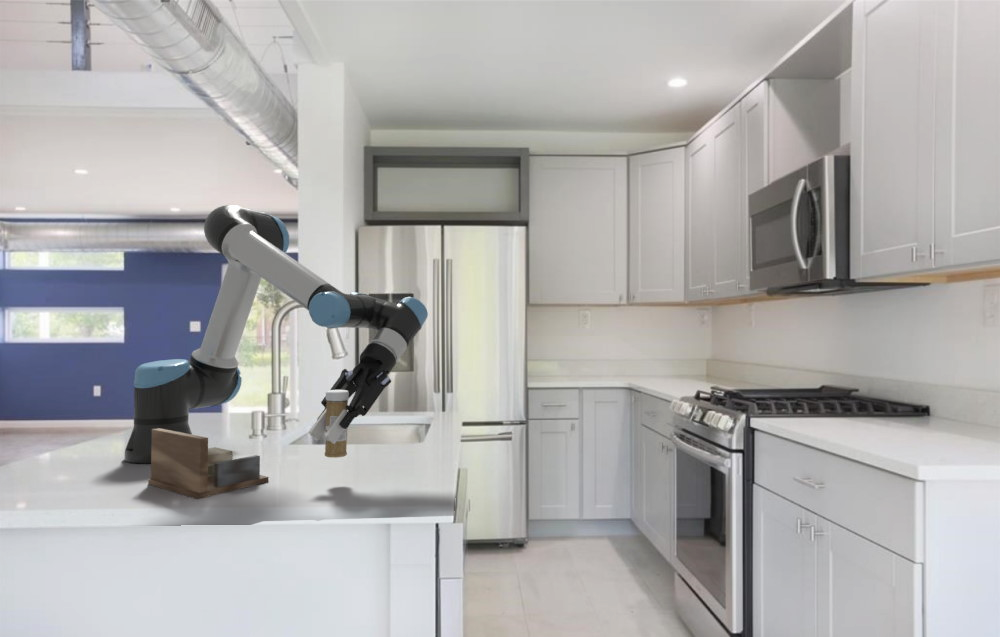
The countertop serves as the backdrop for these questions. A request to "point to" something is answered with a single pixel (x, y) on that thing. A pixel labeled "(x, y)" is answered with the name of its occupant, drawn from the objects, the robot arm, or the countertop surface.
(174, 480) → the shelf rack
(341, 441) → the sprinkles bottle
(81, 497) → the countertop surface
